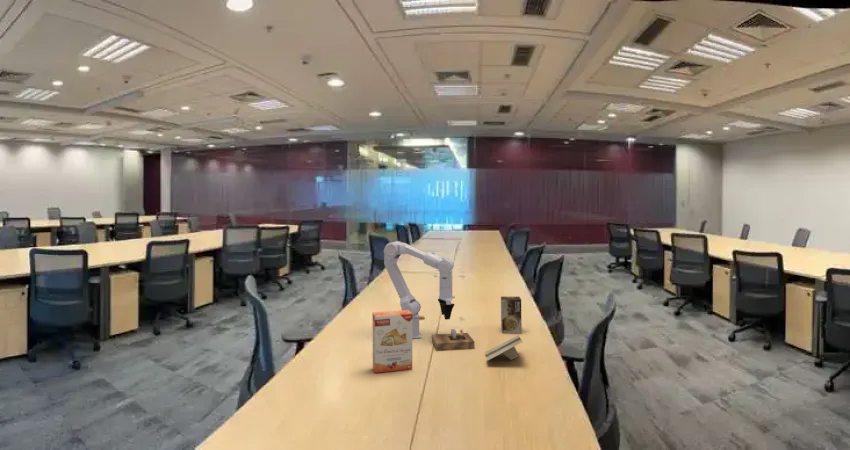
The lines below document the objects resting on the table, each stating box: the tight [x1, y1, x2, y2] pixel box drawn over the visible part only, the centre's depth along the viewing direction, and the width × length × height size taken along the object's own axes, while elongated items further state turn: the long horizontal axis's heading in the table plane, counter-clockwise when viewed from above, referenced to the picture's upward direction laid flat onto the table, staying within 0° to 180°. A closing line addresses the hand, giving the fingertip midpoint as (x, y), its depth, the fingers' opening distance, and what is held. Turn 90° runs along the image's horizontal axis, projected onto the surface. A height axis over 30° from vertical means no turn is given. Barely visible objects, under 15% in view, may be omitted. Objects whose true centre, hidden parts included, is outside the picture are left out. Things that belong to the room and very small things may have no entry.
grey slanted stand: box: [484, 334, 523, 361], centre depth 161 cm, size 16×9×15 cm
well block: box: [431, 332, 476, 352], centre depth 178 cm, size 16×12×3 cm
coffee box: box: [500, 296, 523, 334], centre depth 196 cm, size 9×6×16 cm
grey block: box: [450, 328, 463, 340], centre depth 179 cm, size 5×4×6 cm
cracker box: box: [372, 310, 413, 374], centre depth 152 cm, size 14×6×21 cm, turn 105°
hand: (445, 316), depth 186 cm, fingers open, 7 cm apart
